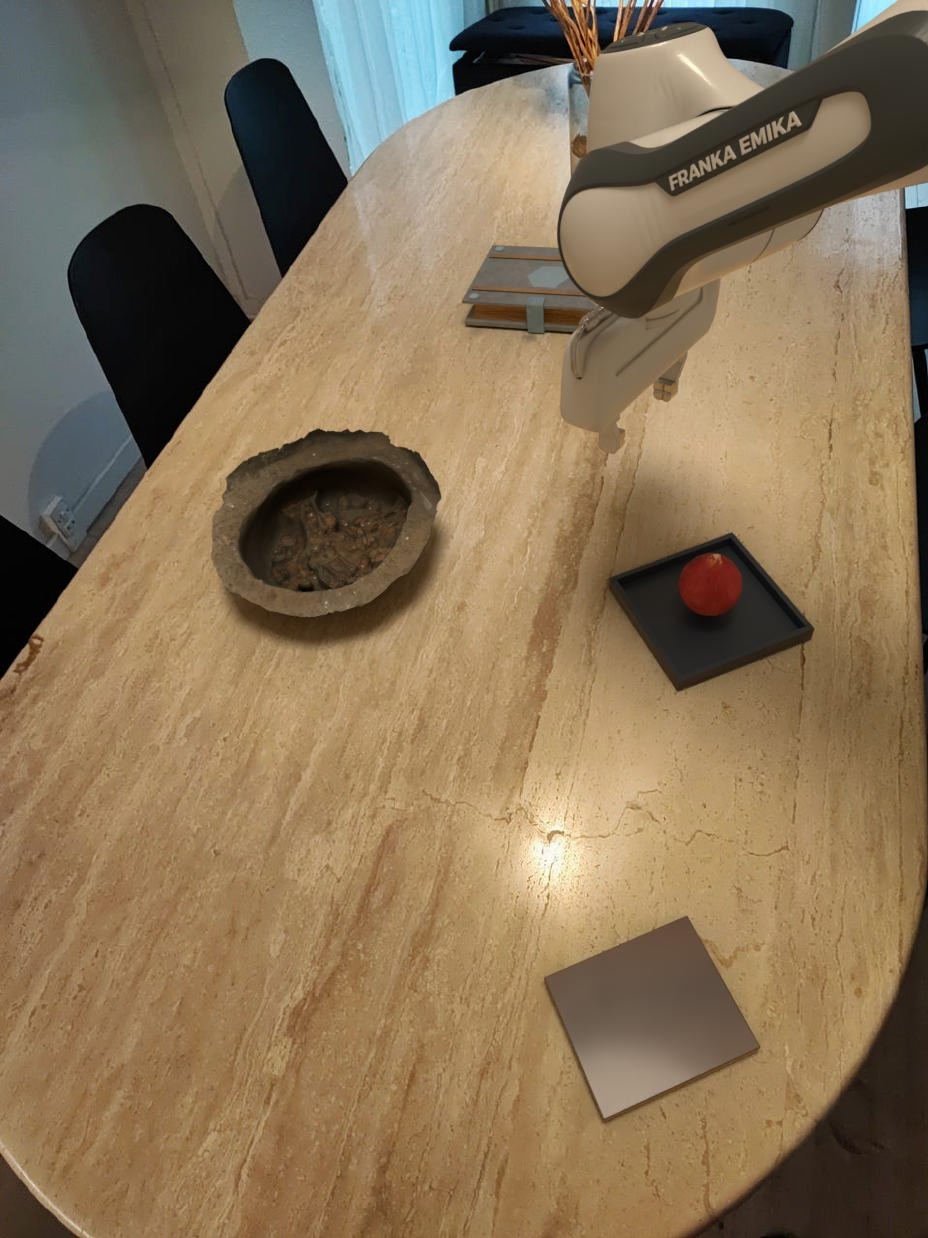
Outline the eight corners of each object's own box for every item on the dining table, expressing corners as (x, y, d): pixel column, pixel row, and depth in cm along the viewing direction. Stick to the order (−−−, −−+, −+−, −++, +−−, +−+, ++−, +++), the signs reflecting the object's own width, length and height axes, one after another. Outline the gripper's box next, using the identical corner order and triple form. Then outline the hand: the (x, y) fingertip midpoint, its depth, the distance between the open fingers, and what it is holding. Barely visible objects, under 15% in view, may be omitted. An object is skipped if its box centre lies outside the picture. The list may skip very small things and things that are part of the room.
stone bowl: (384, 453, 106) (372, 394, 98) (487, 588, 92) (482, 531, 85) (196, 536, 100) (169, 479, 92) (277, 692, 86) (252, 641, 79)
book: (633, 274, 125) (634, 241, 121) (610, 339, 116) (611, 305, 112) (496, 267, 131) (493, 236, 127) (464, 328, 122) (460, 296, 118)
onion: (663, 609, 85) (669, 554, 79) (702, 578, 87) (710, 522, 81) (710, 642, 82) (719, 588, 75) (749, 609, 84) (761, 553, 77)
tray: (811, 639, 81) (814, 628, 80) (677, 692, 79) (679, 681, 78) (730, 543, 90) (732, 531, 89) (608, 588, 88) (608, 577, 87)
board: (758, 1051, 60) (761, 1047, 59) (603, 1123, 58) (603, 1120, 57) (686, 920, 66) (687, 915, 65) (544, 982, 64) (543, 977, 64)
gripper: (609, 336, 60) (608, 493, 70) (739, 228, 71) (723, 378, 80) (536, 319, 63) (545, 471, 73) (671, 217, 74) (663, 363, 84)
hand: (639, 421), depth 77 cm, fingers open, 8 cm apart
